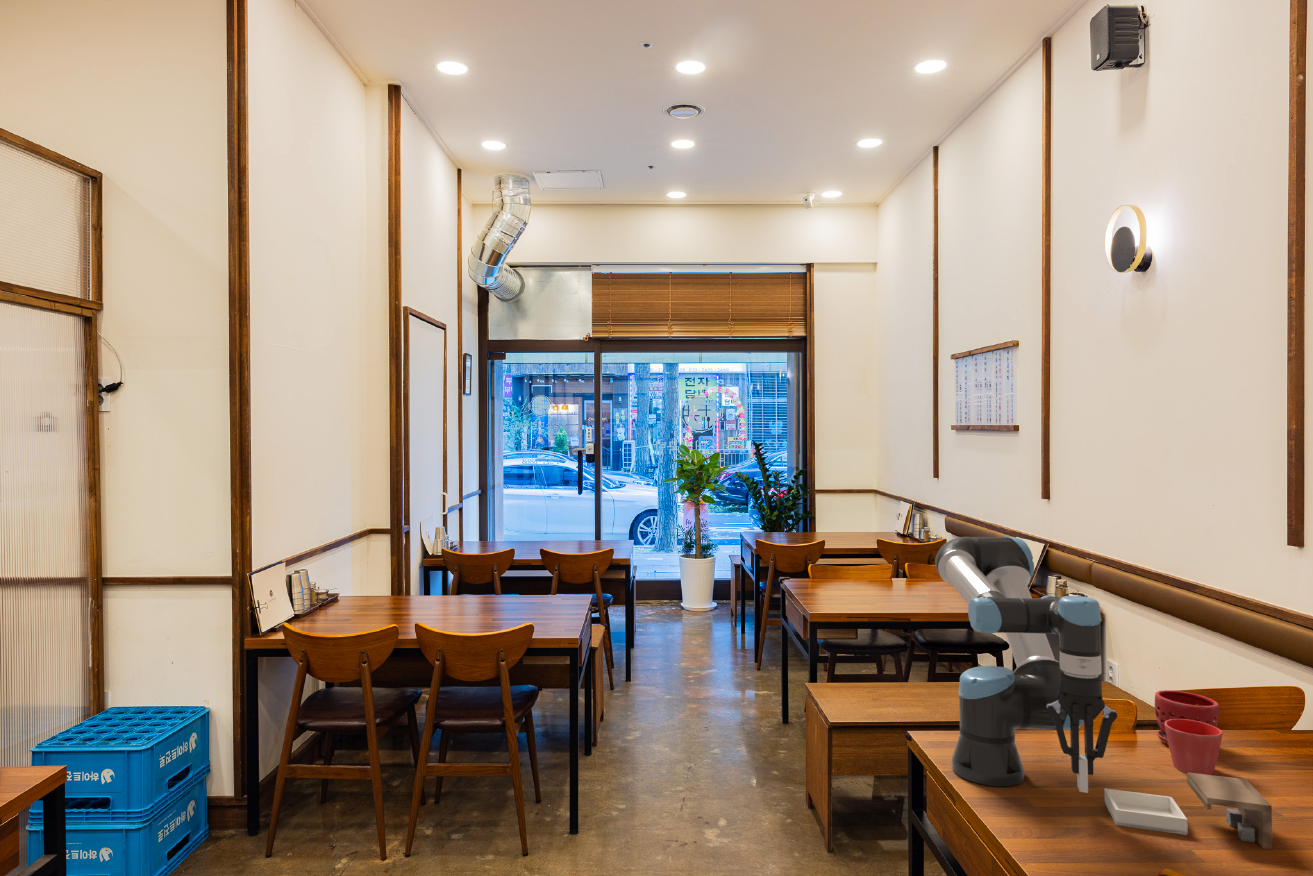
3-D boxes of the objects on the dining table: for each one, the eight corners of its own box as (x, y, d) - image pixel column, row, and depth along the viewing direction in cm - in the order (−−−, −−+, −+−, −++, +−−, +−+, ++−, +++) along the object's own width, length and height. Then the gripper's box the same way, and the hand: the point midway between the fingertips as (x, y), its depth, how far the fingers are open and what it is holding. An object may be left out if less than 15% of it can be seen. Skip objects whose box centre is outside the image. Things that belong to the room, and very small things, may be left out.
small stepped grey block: (1242, 840, 143) (1241, 827, 143) (1226, 821, 151) (1226, 808, 151) (1254, 842, 142) (1254, 829, 142) (1238, 822, 150) (1238, 810, 150)
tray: (1115, 825, 149) (1115, 809, 149) (1104, 802, 159) (1104, 788, 159) (1187, 835, 145) (1187, 819, 145) (1171, 811, 155) (1171, 797, 155)
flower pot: (1225, 782, 168) (1224, 738, 168) (1166, 772, 174) (1165, 729, 174) (1220, 765, 177) (1220, 724, 177) (1164, 756, 183) (1163, 715, 183)
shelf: (1208, 840, 143) (1207, 797, 143) (1187, 811, 154) (1186, 772, 155) (1272, 849, 140) (1271, 805, 140) (1246, 819, 151) (1245, 779, 151)
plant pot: (1203, 760, 180) (1202, 709, 181) (1144, 741, 192) (1144, 694, 192) (1229, 749, 187) (1229, 700, 187) (1171, 732, 198) (1171, 685, 199)
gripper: (1047, 675, 155) (1050, 792, 154) (1121, 681, 150) (1123, 802, 150) (1042, 666, 162) (1044, 778, 161) (1112, 671, 157) (1114, 786, 157)
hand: (1082, 789), depth 155 cm, fingers closed
